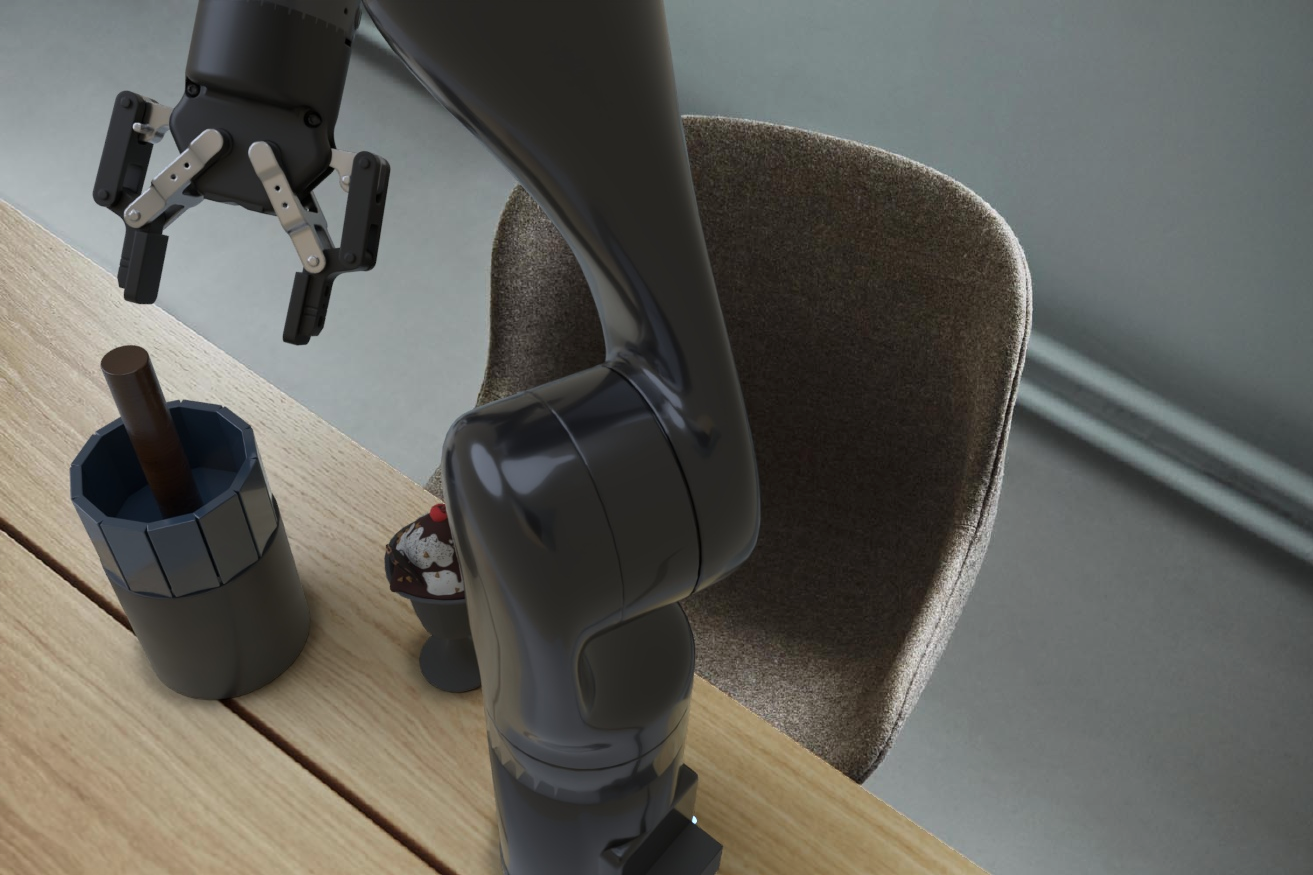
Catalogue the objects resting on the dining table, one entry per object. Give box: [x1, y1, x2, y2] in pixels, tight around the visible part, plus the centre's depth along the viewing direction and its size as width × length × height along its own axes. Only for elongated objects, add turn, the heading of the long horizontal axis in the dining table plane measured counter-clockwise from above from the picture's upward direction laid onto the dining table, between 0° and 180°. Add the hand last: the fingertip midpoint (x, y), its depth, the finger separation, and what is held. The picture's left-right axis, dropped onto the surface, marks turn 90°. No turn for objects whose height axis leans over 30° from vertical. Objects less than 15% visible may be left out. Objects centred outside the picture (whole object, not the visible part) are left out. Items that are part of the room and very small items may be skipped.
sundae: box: [383, 503, 481, 693], centre depth 65 cm, size 7×7×15 cm
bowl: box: [68, 399, 278, 598], centre depth 62 cm, size 9×9×6 cm
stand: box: [99, 492, 311, 701], centre depth 67 cm, size 10×10×10 cm
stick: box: [99, 344, 204, 520], centre depth 59 cm, size 2×2×12 cm
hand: (217, 323), depth 60 cm, fingers open, 8 cm apart
